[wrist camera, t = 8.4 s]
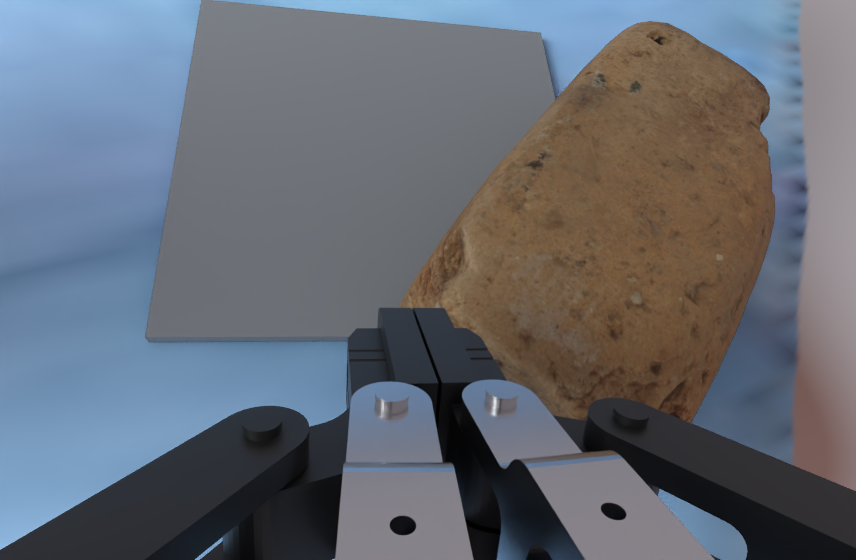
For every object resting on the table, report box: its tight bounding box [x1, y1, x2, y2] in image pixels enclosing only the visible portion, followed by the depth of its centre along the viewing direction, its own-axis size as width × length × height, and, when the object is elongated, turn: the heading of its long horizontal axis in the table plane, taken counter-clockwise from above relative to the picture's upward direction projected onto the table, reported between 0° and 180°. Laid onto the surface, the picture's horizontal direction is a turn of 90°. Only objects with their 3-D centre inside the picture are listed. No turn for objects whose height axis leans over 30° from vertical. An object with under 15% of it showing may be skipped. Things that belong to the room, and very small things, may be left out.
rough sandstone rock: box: [398, 21, 775, 423], centre depth 24 cm, size 11×8×20 cm
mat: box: [145, 0, 555, 342], centre depth 28 cm, size 20×20×1 cm
